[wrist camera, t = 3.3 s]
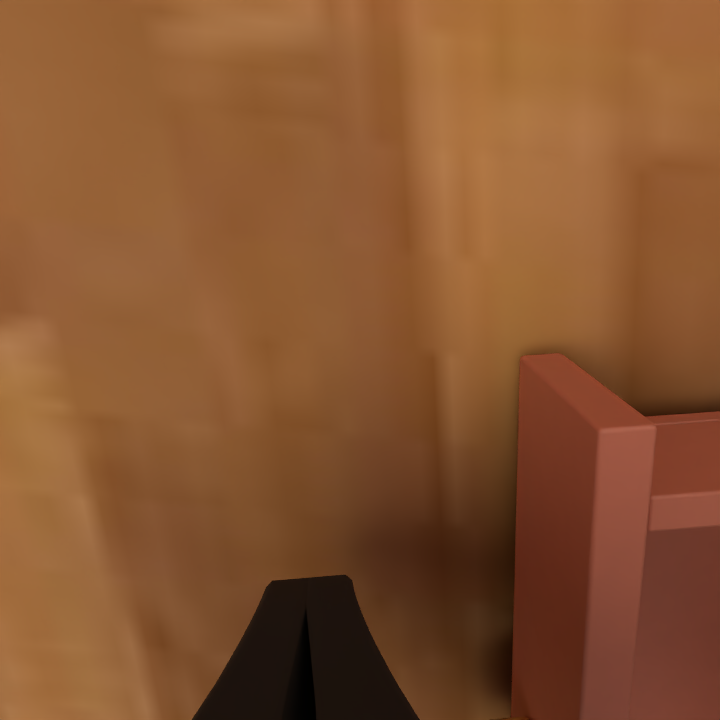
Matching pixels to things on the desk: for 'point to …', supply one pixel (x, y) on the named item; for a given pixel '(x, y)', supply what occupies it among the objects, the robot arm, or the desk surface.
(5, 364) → the desk surface
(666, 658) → the drawer
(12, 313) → the desk surface
